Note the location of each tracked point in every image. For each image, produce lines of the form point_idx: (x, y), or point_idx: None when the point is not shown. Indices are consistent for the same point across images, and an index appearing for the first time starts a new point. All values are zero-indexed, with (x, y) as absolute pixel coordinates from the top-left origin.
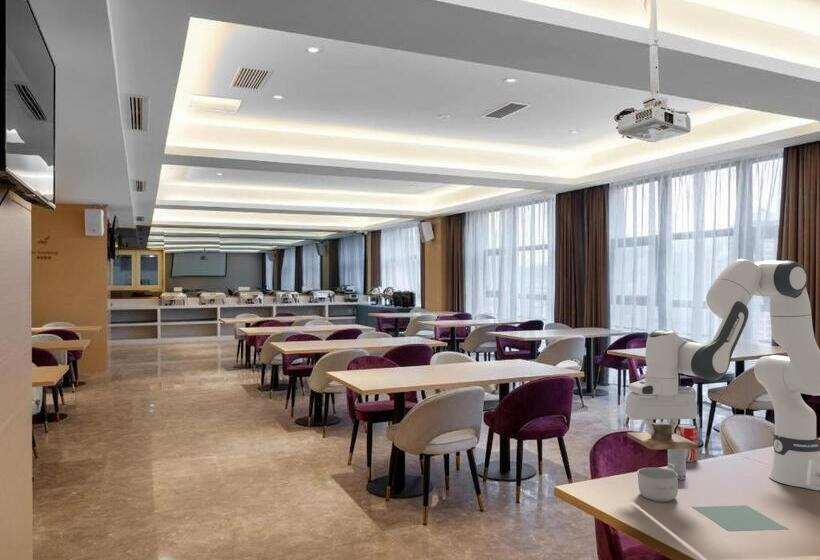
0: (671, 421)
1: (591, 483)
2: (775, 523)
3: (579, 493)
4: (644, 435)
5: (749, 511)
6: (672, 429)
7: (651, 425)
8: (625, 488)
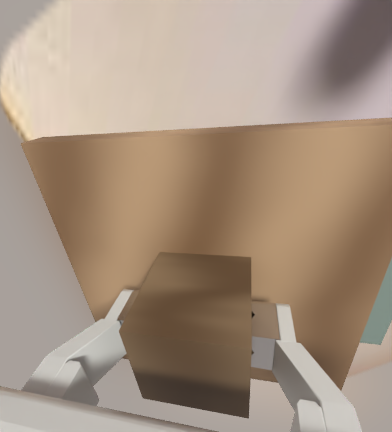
0: (294, 419)
1: (69, 26)
2: (380, 327)
3: (40, 124)
4: (125, 225)
5: (386, 279)
6: (274, 364)
7: (101, 374)
8: (164, 80)
